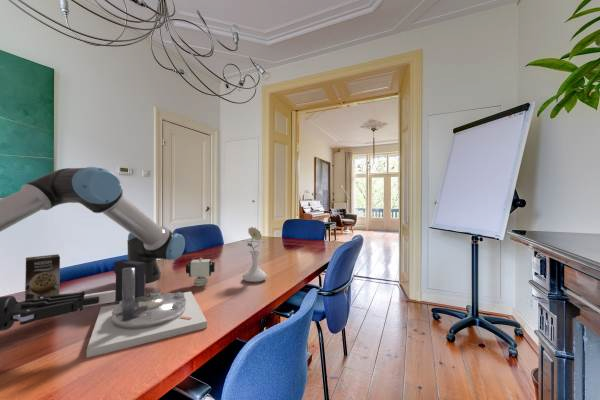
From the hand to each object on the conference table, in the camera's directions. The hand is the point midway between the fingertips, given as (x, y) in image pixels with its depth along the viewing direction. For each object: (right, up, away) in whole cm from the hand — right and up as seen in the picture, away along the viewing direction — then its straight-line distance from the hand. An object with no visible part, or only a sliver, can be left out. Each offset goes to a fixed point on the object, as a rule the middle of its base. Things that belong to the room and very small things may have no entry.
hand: (114, 295), depth 70 cm
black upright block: (-12, -12, +24) cm, 29 cm away
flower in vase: (+29, -12, +51) cm, 60 cm away
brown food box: (-46, -11, +26) cm, 54 cm away
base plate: (+4, -12, +11) cm, 16 cm away
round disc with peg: (+4, -9, +11) cm, 15 cm away
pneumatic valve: (+7, -12, +43) cm, 46 cm away
